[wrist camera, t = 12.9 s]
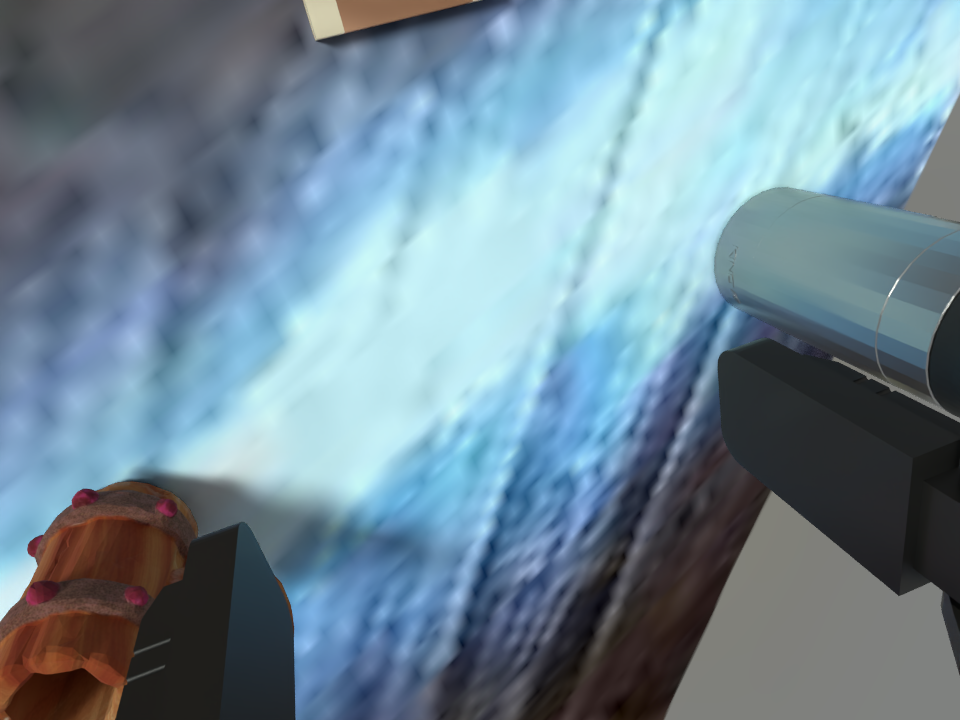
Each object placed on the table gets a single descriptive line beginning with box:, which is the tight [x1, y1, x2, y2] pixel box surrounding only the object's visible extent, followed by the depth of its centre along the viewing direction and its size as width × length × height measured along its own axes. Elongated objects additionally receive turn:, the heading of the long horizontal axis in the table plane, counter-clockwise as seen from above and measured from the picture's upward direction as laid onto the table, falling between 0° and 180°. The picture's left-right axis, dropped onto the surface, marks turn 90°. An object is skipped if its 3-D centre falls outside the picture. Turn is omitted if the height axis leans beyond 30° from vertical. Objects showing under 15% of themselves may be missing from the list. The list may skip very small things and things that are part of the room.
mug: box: [0, 481, 294, 720], centre depth 35 cm, size 15×8×15 cm, turn 74°
